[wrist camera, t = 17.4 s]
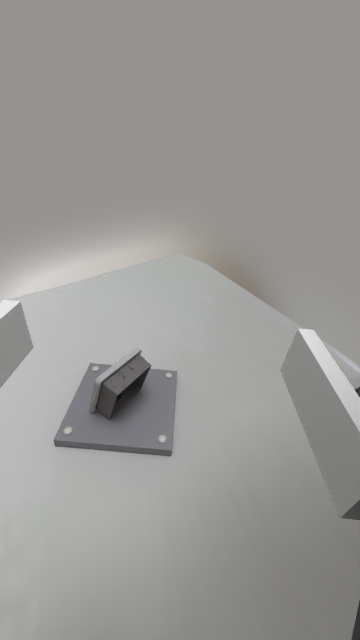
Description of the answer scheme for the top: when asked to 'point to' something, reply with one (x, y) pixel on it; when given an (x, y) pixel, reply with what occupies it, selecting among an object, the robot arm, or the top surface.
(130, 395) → the electrical switch
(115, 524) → the top surface
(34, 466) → the top surface
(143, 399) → the mounting plate
